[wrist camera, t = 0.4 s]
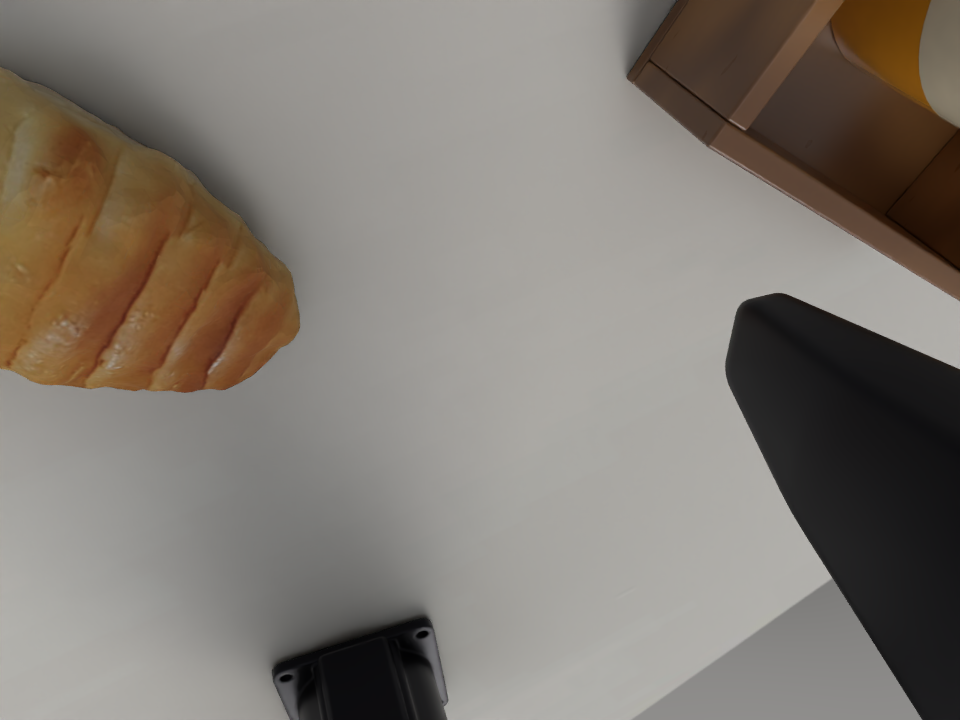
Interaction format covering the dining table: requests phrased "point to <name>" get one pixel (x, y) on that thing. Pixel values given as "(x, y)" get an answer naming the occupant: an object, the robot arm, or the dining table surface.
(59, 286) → the pastry
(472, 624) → the dining table surface
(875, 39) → the jar
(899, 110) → the wooden box
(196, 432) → the dining table surface
